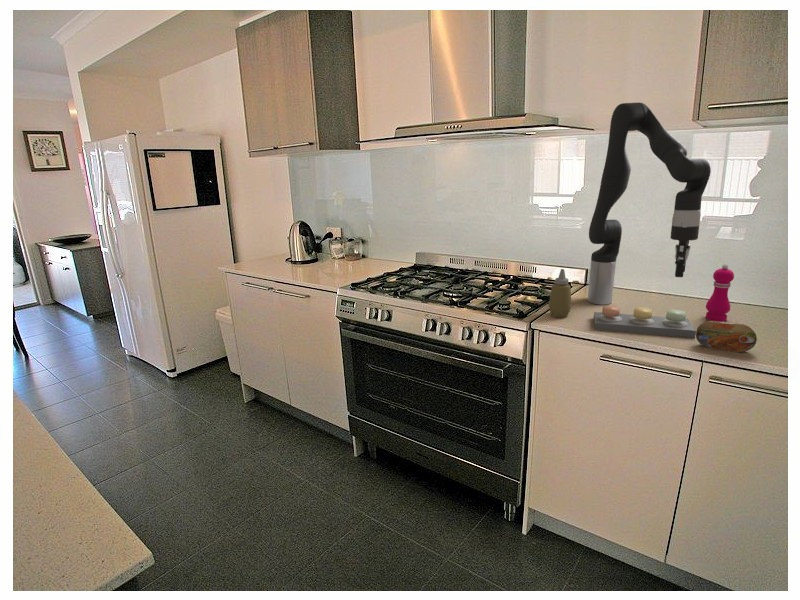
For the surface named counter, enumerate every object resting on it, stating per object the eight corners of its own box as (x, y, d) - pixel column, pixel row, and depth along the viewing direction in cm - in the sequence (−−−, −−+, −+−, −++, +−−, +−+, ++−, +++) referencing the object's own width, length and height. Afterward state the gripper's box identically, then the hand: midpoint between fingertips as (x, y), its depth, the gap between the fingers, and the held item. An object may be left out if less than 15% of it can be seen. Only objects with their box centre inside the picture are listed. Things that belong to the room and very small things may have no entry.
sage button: (664, 315, 158) (665, 309, 157) (683, 317, 156) (684, 310, 155) (667, 321, 153) (668, 314, 152) (686, 322, 151) (687, 315, 150)
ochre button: (632, 313, 161) (633, 306, 161) (650, 314, 160) (651, 308, 159) (634, 318, 156) (635, 311, 156) (652, 319, 155) (653, 313, 154)
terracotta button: (601, 311, 165) (602, 304, 164) (618, 312, 163) (619, 306, 162) (602, 316, 160) (602, 309, 159) (620, 317, 158) (620, 310, 157)
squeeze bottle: (544, 316, 174) (546, 269, 168) (554, 310, 179) (557, 265, 174) (564, 320, 168) (568, 273, 163) (574, 315, 174) (578, 268, 168)
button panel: (593, 318, 170) (594, 311, 169) (686, 325, 159) (687, 318, 159) (594, 329, 159) (595, 322, 158) (694, 337, 149) (696, 330, 148)
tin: (693, 346, 143) (698, 320, 140) (693, 342, 146) (697, 317, 143) (753, 354, 136) (759, 328, 133) (752, 350, 138) (758, 324, 136)
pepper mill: (732, 322, 161) (742, 266, 155) (709, 321, 162) (718, 266, 156) (722, 315, 167) (732, 262, 162) (700, 315, 169) (709, 261, 163)
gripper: (673, 222, 153) (668, 269, 157) (669, 226, 142) (664, 277, 146) (700, 222, 149) (694, 271, 153) (698, 226, 138) (692, 279, 142)
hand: (679, 274), depth 149 cm, fingers open, 8 cm apart
